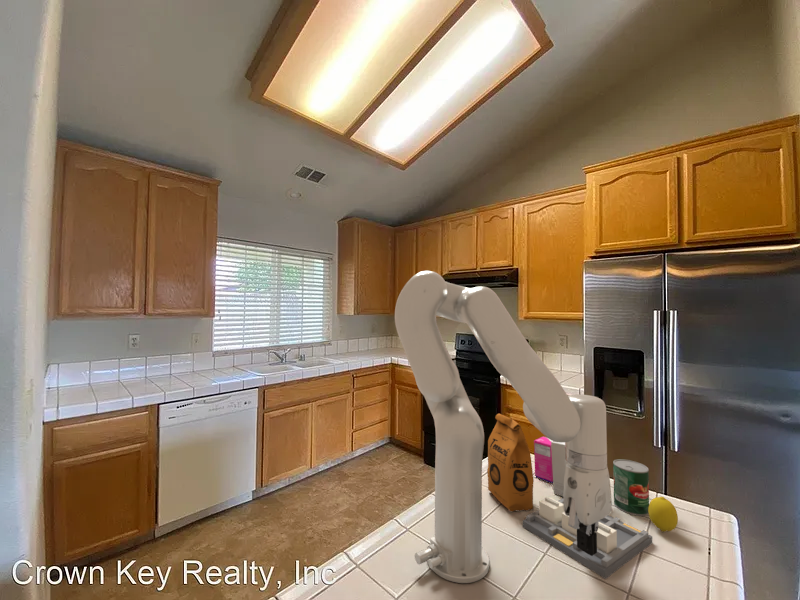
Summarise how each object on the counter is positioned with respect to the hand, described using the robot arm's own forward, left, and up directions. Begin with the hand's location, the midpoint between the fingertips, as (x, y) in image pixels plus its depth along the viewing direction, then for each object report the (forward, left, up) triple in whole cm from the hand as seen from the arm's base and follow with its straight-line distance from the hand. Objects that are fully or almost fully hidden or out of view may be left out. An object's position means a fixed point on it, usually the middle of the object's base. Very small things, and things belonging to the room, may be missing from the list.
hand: (586, 550), depth 69 cm
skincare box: (+24, +18, -3) cm, 30 cm away
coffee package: (+7, +25, -3) cm, 26 cm away
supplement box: (+28, +28, -3) cm, 40 cm away
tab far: (+6, +12, -2) cm, 13 cm away
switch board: (+10, +6, -3) cm, 12 cm away
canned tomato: (+32, +6, -3) cm, 33 cm away
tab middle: (+6, +6, -2) cm, 8 cm away
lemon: (+27, -3, -3) cm, 27 cm away
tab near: (+6, 0, -2) cm, 6 cm away
